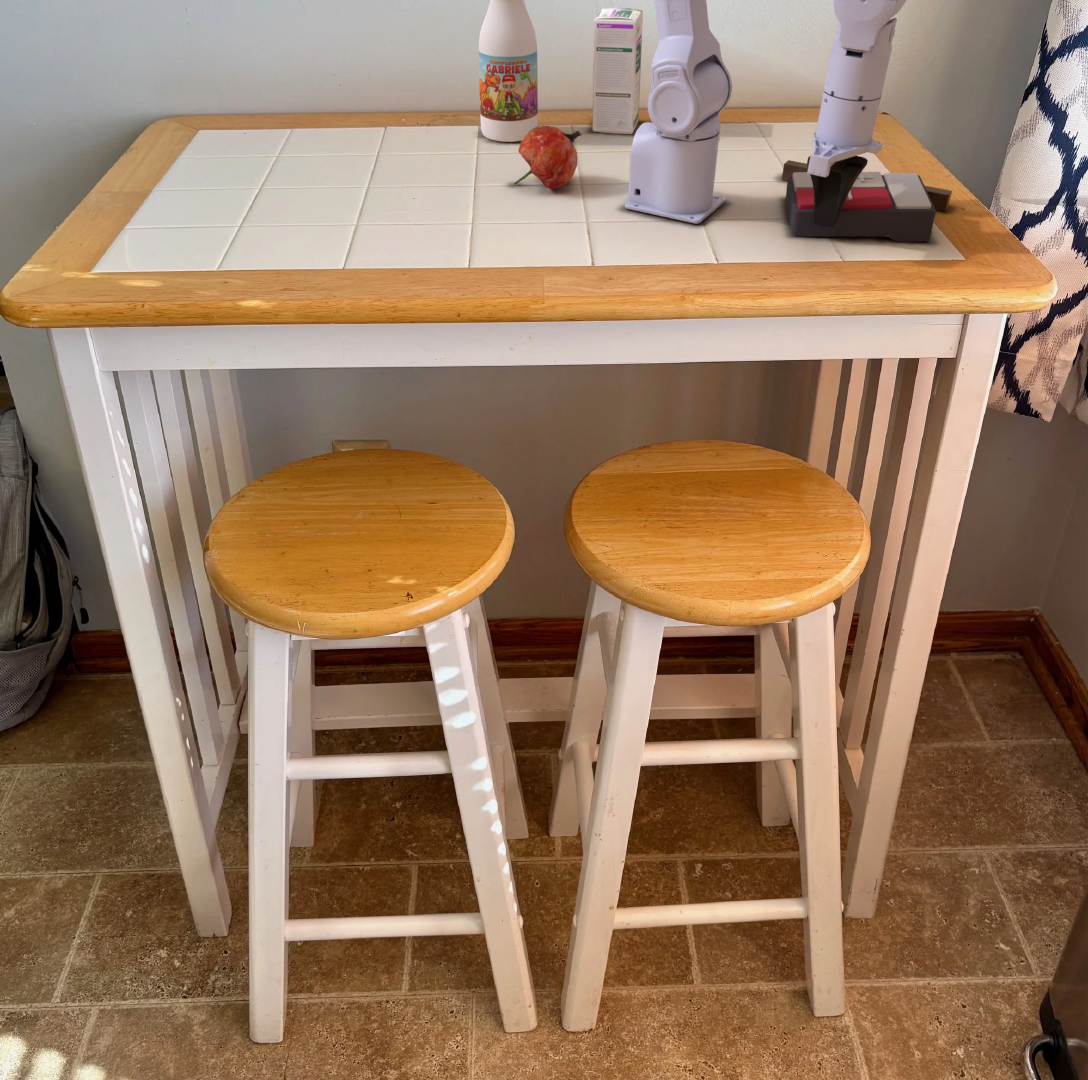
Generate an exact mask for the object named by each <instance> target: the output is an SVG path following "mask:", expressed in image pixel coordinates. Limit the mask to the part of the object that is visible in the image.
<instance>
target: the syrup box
mask: <svg viewBox="0 0 1088 1080" xmlns="http://www.w3.org/2000/svg"><path fill="white" fill-rule="evenodd" d="M643 17H644V11H643V10H642V9H638V8H637V9H636V8H628V7H608V8H607V7H606V8H603V7H602V8H601V10H600V12H599V13H598V14H597V15H596V17H595V18H594V19H593V56H592V57H593V59H592V60H593V64H592V119H591V120H592V125H591V127H592V128H591V130H592V132H595V133H596V132H597V133H604V134H619V135H633V133H634V131H635V129H636V127H637V125H638V123H639V117H640V95H641V94H640V93H641V72H642V71H641V69H642V68H641V67H642V43H643V20H644V19H643Z"/></svg>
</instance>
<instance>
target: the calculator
mask: <svg viewBox="0 0 1088 1080" xmlns="http://www.w3.org/2000/svg"><path fill="white" fill-rule="evenodd" d="M925 186H926V185H925V184H924V182H923V180H922V177H921V176H920V175H918V174H917V173H916V172H886V173H883V174H882V173H881V172H880V171H862V172H861V173H860V175H859V176H858V177H857V179H856V181H855V182H854V184H853V186H852V188H851V189H850V191H849V193H848V196H847V198H846V200H845V203H844V205H843V207H842V210H841V213H840V215H839V218H838V220H837V222H836V224H835V225H834V226H833V227H832V228H830V227H826V226H822V225H817V224H814V190H813V184H812V179H811V176H810V174H808V173H807V172H795V173H793V176H789V177H788V180H787V181H786V191H785V206H786V211H787V217H788V223H789V227H790V228H789V229H790V233H791V236H792V237H888V238H889V239H891V240H893V241H894V242H897V243H898V242H901V243H902V242H909V243H910V242H912V243H913V242H914V243H915V242H919V243H920V242H921V243H922V242H924V243H925V242H929V241H930V240H931V237H932V231H933V227H934V223H935V222H934V221H935V217H936V211H937V210H935V207H934V205H933V203H932V201H931V199H930V197H929V195H928V193H927V190H926V188H925Z"/></svg>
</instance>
